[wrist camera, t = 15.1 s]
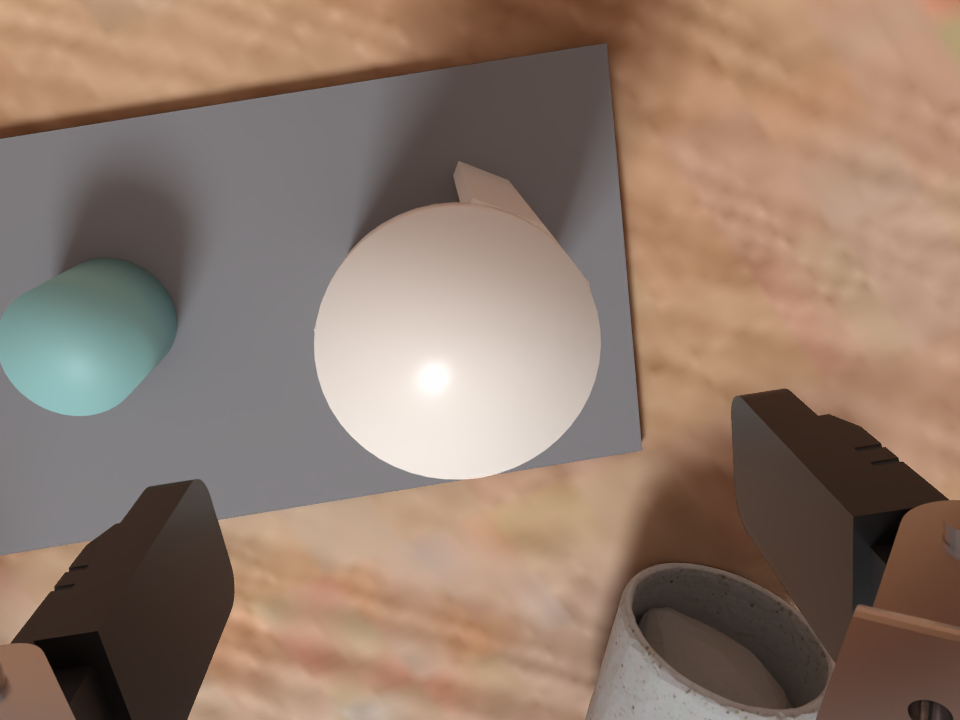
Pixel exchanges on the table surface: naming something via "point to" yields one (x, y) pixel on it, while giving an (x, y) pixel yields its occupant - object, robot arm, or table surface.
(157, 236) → the mat
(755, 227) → the table surface
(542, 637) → the table surface
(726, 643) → the ceramic mug
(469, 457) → the cover cup
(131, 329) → the teal egg-shaped capsule
